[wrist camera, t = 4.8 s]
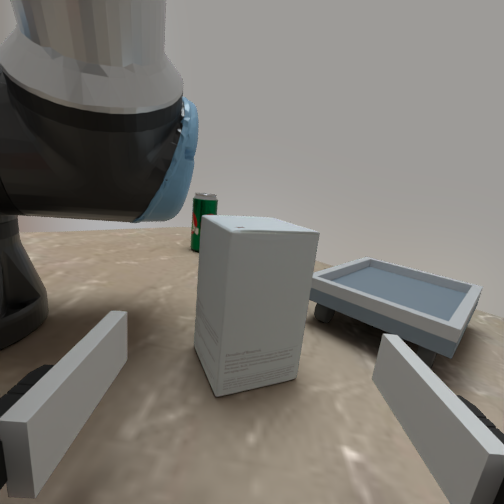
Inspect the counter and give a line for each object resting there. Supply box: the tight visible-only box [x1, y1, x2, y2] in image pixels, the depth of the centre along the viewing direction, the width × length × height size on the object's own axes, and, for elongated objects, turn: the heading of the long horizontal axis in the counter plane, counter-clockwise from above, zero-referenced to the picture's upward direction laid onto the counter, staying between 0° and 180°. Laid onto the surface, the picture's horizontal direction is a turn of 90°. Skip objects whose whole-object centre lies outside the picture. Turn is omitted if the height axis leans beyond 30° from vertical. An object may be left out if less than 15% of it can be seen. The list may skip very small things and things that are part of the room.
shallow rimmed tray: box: [309, 257, 483, 369], centre depth 35 cm, size 18×15×6 cm
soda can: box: [191, 193, 218, 252], centre depth 60 cm, size 5×5×12 cm
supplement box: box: [194, 215, 320, 397], centre depth 24 cm, size 7×7×13 cm
